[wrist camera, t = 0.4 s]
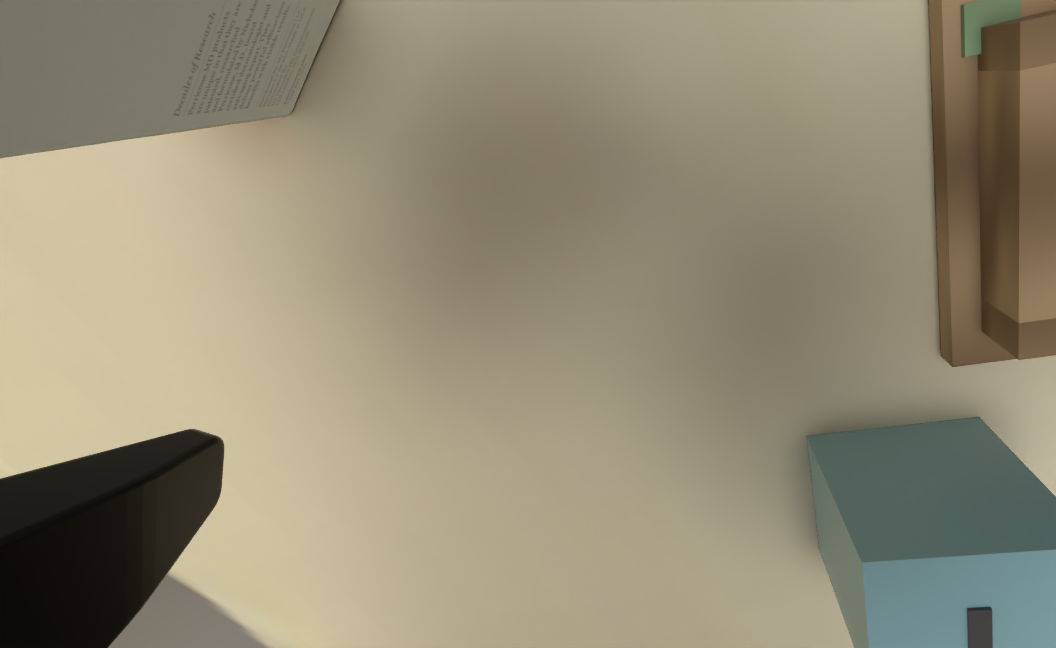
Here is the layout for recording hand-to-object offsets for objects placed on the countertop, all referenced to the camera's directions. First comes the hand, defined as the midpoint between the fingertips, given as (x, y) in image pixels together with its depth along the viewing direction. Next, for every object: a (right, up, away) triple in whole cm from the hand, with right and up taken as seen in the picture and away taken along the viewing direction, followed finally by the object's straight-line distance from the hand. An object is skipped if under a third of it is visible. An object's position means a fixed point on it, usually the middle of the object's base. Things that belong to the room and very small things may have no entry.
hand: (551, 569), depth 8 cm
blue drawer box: (+12, -2, +13) cm, 18 cm away
